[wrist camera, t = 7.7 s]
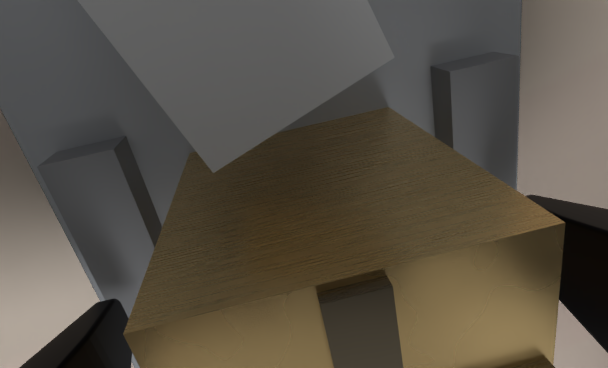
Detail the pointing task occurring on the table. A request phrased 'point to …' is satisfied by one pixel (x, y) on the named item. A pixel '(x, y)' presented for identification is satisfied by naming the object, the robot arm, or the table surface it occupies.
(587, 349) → the table surface
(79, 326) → the robot arm
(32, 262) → the table surface
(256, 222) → the gold square block
